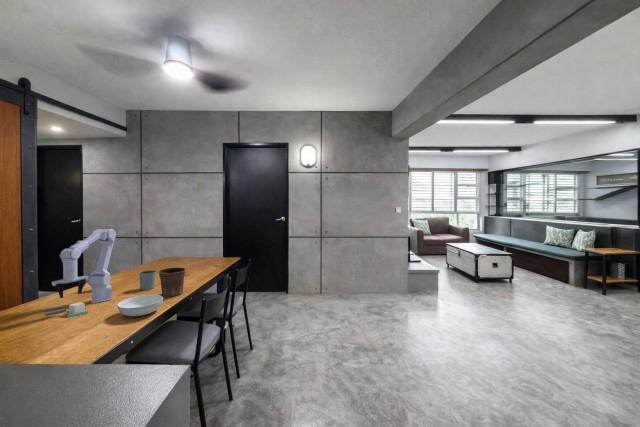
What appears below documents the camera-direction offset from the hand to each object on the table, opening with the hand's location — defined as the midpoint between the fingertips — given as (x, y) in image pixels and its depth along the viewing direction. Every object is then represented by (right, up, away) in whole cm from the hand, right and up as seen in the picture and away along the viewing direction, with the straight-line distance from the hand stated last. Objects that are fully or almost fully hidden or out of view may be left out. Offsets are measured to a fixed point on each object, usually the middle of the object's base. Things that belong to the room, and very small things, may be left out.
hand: (70, 295), depth 149 cm
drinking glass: (+14, -9, +45) cm, 48 cm away
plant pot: (+38, -9, +33) cm, 51 cm away
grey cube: (+4, -10, 0) cm, 10 cm away
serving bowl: (+38, -10, +1) cm, 39 cm away
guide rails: (-3, -9, +1) cm, 10 cm away
